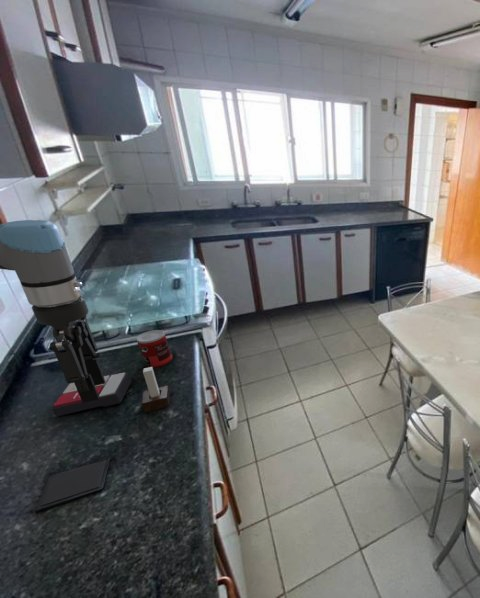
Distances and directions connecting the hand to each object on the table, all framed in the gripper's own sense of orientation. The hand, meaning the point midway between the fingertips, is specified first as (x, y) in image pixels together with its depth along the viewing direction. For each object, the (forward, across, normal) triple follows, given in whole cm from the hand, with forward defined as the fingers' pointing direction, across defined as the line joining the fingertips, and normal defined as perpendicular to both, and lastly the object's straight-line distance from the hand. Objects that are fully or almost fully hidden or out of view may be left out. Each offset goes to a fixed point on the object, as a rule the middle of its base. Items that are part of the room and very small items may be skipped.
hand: (94, 391), depth 75 cm
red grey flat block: (+20, +26, +9) cm, 34 cm away
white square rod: (+20, +16, -7) cm, 26 cm away
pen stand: (+20, +16, -7) cm, 26 cm away
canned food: (+20, +40, -6) cm, 45 cm away
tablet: (+20, -6, +7) cm, 22 cm away
